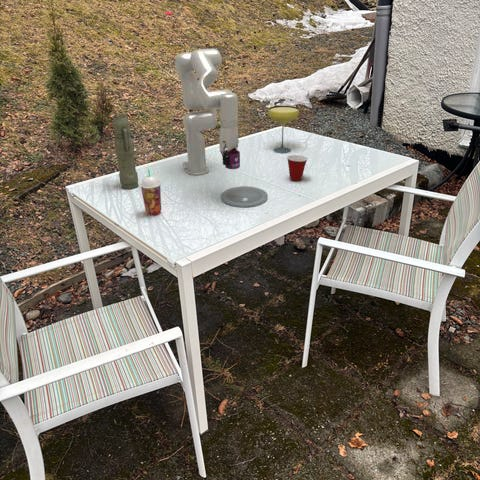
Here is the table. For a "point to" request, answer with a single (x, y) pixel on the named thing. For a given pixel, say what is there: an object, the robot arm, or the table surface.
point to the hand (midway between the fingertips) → (230, 162)
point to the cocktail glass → (283, 120)
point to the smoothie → (151, 194)
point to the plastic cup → (296, 166)
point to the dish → (244, 196)
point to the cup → (233, 159)
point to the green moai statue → (125, 153)
